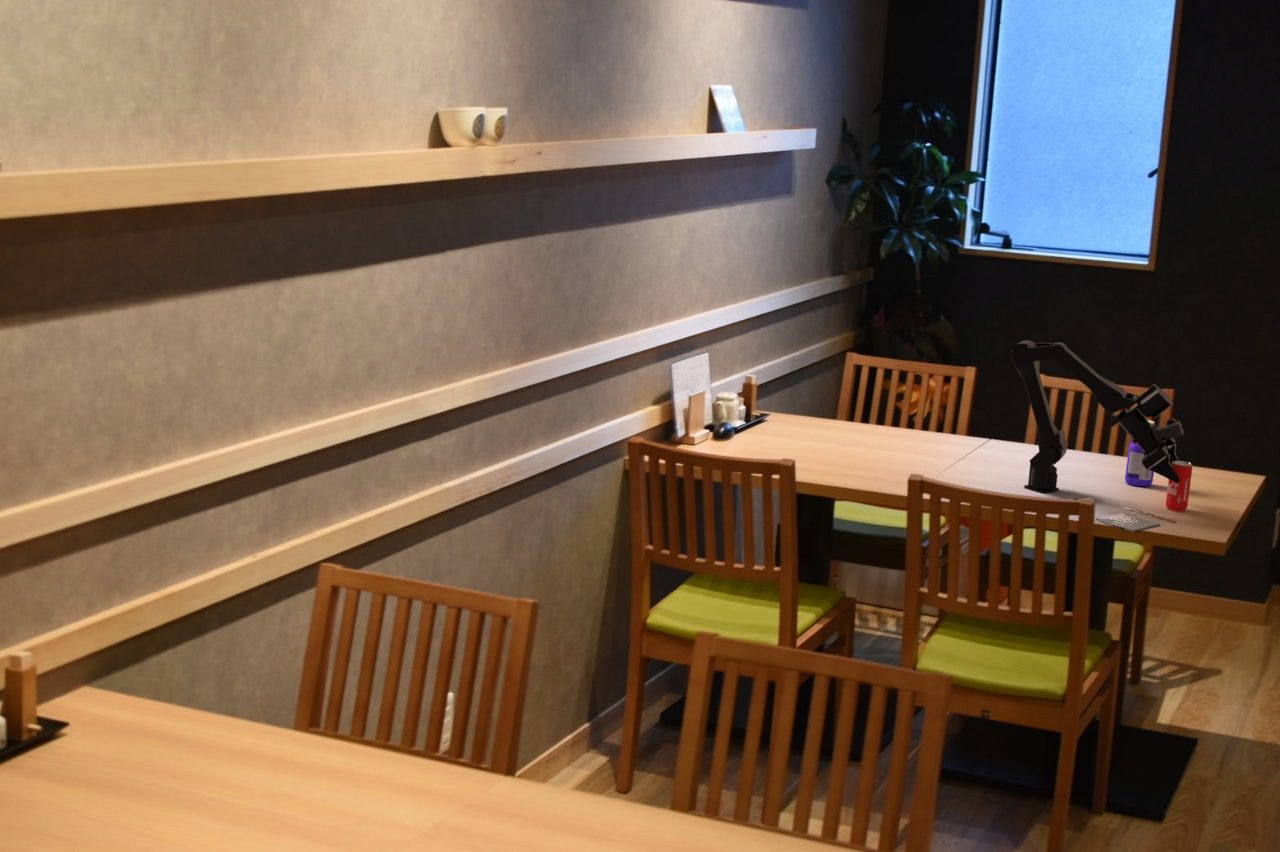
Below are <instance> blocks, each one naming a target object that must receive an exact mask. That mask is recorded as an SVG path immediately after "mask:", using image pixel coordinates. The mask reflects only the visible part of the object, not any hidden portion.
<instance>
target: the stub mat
mask: <svg viewBox="0 0 1280 852" xmlns="http://www.w3.org/2000/svg"><path fill="white" fill-rule="evenodd" d="M1126 514H1127V513H1125V515H1126ZM1128 515H1130V516H1132V517H1131V518H1130V519H1132V520H1134V521H1132V520H1130V521H1132V522H1134V523H1131V522H1129V521H1128V520H1126V521H1128V522H1129V523H1127V522H1125V524H1123V523H1122V522H1124V521H1122V520H1121V519H1119V520H1121V521H1122V522H1120V521H1117V520H1113V519H1112V520H1110V519H1099V517H1095V518H1096V520H1098V521H1102V522H1105V523H1109V524H1113V523H1116V522H1114V521H1117V522H1120V523H1121V524H1122V525H1124V526H1122V525H1121V524H1119V523H1116V524H1117V526H1120V527H1122V528H1124V529H1123V530H1125V531H1129V532H1131V533H1134V532H1138V531H1141V530H1140V529H1142V530H1145V529H1144V528H1147V529H1149V528H1148V527H1151V528H1153V527H1152V526H1155V527H1159V526H1161V523H1160V522H1156V521H1152V520H1149V519H1145V518H1143V517H1139V516H1136V515H1131V514H1128ZM1128 515H1127V516H1128ZM1130 516H1129V517H1130ZM1125 517H1126V516H1125ZM1125 517H1124V518H1125ZM1129 517H1128V518H1129ZM1133 517H1135V518H1134V519H1133ZM1135 519H1136V520H1137V522H1138V523H1137V522H1135V521H1136V520H1135ZM1098 521H1097V522H1098ZM1105 523H1104V524H1105ZM1116 524H1113V525H1116ZM1126 524H1127V525H1126ZM1130 524H1132V525H1130ZM1128 525H1129V526H1128ZM1158 525H1159V526H1158Z"/></svg>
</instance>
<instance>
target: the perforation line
mask: <svg viewBox="0 0 1280 852" xmlns="http://www.w3.org/2000/svg"><path fill="white" fill-rule="evenodd" d="M1128 507H1129V508H1131V509H1134V508H1133V507H1130V506H1128ZM1135 510H1136V511H1139V512H1141V513H1143V512H1144V513H1145V514H1148V515H1151V516H1154V517H1155V518H1156V519H1158V518H1159V520H1164V521H1165V520H1166V522H1170V523H1172V524H1175V523H1177V520H1175V519H1172V518H1167V519H1166V517H1164V516H1160V515H1157V516H1156V514H1154V513H1151V512H1145V511H1144V510H1140V509H1135ZM1141 513H1140V514H1141ZM1144 513H1143V514H1144ZM1148 515H1147V516H1148ZM1151 516H1150V517H1151Z"/></svg>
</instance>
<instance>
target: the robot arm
mask: <svg viewBox="0 0 1280 852" xmlns="http://www.w3.org/2000/svg"><path fill="white" fill-rule="evenodd" d="M1010 359H1011V361H1012V362H1013V364H1014V367H1015V369H1016V370H1017V372H1018V373H1019V375H1020V377H1022V379H1023V383H1024V386H1025V389H1026V392H1027V395H1028V399H1029V403H1030V406H1031V410H1032V412H1033V413H1032V414H1033V417H1034V420H1035V423H1036V427H1037V431H1038V433H1037V434H1038V436H1037V437H1038V438H1037V439H1038V441H1037V444H1038V445H1037V446H1038V452H1037V453H1036V454H1035V455H1034V456H1032V458H1030V459H1029V473H1028V481H1027V482H1028V483H1027V484H1026V485H1025V484H1024V485H1023V488H1025V489H1029V490H1032V491H1036V492H1039V493H1044V494H1045V493H1051V492H1054V491H1059V489H1060V488H1059V487H1057V483H1058V472H1057V470H1058V467H1056V464H1057V463H1058V462H1060V460H1061V459H1062V458H1063V457H1064V456H1065V455H1066V454H1067V451H1068V446H1069V443H1068V441H1067V439H1066V432H1065V430H1064V429H1061V430H1059V429H1058V428H1057V426H1056V425H1055V423H1054V419H1053V416H1052V412H1051V410H1050V404H1049V402H1048V399H1047V394H1046V391H1045V389H1044V383H1043V381H1042V377H1041V374H1040V364H1041V363H1040V362H1041V361H1048V360H1054V361H1056V362H1058V363H1059V365H1061V366H1062V367H1063V368H1065V370H1066V371H1068V372H1069V373H1070V374H1071V375H1073V376H1074V377H1075V378H1076V379H1077V380H1078V381H1079V382H1080V383H1082V384H1083V385H1084V386H1085V387H1087V389H1089V391H1091V393H1092V395H1093V396H1094V398H1095V400H1096V401H1097V402H1098V403H1099V405H1101V407H1102V408H1103V409H1104V410H1105V411H1106V412H1109V413H1117V412H1119V413H1117V414H1111V416H1110V419H1111V421H1110V427H1112V428H1113V427H1115V426H1116V425H1117V424H1118V423H1119V425H1120V426H1121V427H1122V428H1123V429H1124V430H1125V432H1126V433H1127V434H1128V435H1129V436H1130V438H1131V439H1132V440H1131V442H1133V443H1134V444H1135V443H1137V445H1138V446H1139V447H1140V448H1141V449H1142V451H1143V452H1144V453H1143V455H1144V457H1143V459H1142V465H1143V466H1144V467H1145V468H1146V469H1148V468H1149V470H1150V471H1153V472H1154V474H1157V475H1159V476H1161V477H1163V478H1166V479H1168V480H1169V479H1170V480H1171V481H1173V482H1175V483H1178V482H1180V479H1179V477H1178V475H1177V474H1176V472H1175V470H1174V469H1173V467H1172V465H1171V464H1172V462H1173V461H1180V460H1179V458H1178V456H1177V454H1176V449H1177V443H1176V440H1175V438H1177V439H1178V438H1181V437H1182V436H1184V434H1185V431H1184V429H1183V424H1182V423H1181V421H1180V420H1176V419H1175V418H1173V417H1172V418H1169V419H1167V420H1166V425H1165V424H1164V425H1162V426H1159V427H1158V426H1157V425H1156V424H1155V423H1154V425H1153V424H1152V425H1151V424H1150V423H1149V421H1148V420H1149V419H1147V418H1152V419H1155V418H1157V417H1159V416H1160V415H1161V414H1162V413H1163V412H1165V411H1167V410H1168V409H1169V408H1170V407H1172V406H1173V405H1174V403H1173V400H1172V399H1171V397H1170V396H1169V395H1168V394H1167V393H1166V391H1164V390H1162V389H1161V388H1160V387H1158V386H1157V384H1155V383H1153V384H1152V385H1151V386H1150V387H1148V388H1147V390H1146V391H1144V392H1143V393H1142V394H1140V395H1139V394H1135V393H1131V392H1128V391H1126V389H1124V388H1123V387H1122V386H1120V385H1118V384H1117V383H1115V382H1113V381H1111V380H1108V379H1106V378H1105V377H1103V376H1101V375H1100V374H1099V373H1097V372H1096V371H1095V370H1094V369H1093V368H1092V367H1090V366H1089V365H1088V364H1087V363H1085V361H1084V360H1082V359H1081V358H1080V357H1079V356H1078V355H1076V353H1074V352H1073V351H1072V350H1071V349H1070V348H1068V346H1067V345H1066V344H1065V343H1064V342H1061V341H1059V342H1053V343H1051V342H1039V343H1038V342H1037V343H1036V342H1033V341H1031V340H1028V339H1027V340H1022V341H1020V342H1018V343H1017V344H1015V345H1014V346H1013V347H1012V349H1011V351H1010ZM1132 407H1133V408H1132ZM1122 409H1123V410H1122ZM1151 466H1152V467H1151Z"/></svg>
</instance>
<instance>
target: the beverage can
mask: <svg viewBox="0 0 1280 852" xmlns="http://www.w3.org/2000/svg"><path fill="white" fill-rule="evenodd" d="M1171 465H1172V467H1173V469H1174V470H1175V472H1176V474H1177V475H1178V477H1179V479H1180V482H1178V483H1175V482H1173V481H1171V480H1170V479H1168V482H1167V483H1168V484H1167V490H1166V498H1165V506H1166V510H1168V511H1171V512H1174V513H1175V512H1176V513H1184V512H1186V510H1187V508H1188V506H1189V497H1190V490H1191V482H1192V481H1191V480H1192V474H1193V464H1192V463H1191V462H1188V461H1183V460H1179V461H1173V462H1172V464H1171Z"/></svg>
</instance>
